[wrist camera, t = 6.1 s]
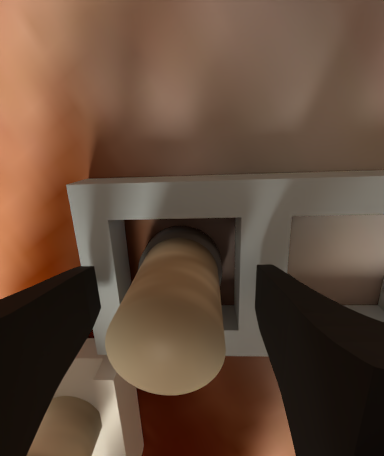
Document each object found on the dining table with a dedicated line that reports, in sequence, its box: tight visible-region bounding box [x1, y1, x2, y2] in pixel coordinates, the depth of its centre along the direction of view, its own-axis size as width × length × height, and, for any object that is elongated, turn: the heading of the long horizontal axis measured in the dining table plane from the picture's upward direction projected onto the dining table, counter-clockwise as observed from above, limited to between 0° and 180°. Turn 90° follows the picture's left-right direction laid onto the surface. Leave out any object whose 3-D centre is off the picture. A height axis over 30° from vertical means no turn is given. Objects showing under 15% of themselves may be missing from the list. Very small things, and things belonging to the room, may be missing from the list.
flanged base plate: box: [53, 338, 144, 456], centre depth 15 cm, size 9×14×3 cm, turn 92°
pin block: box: [66, 170, 384, 356], centre depth 12 cm, size 8×16×2 cm, turn 92°
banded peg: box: [105, 226, 226, 395], centre depth 10 cm, size 4×4×6 cm
